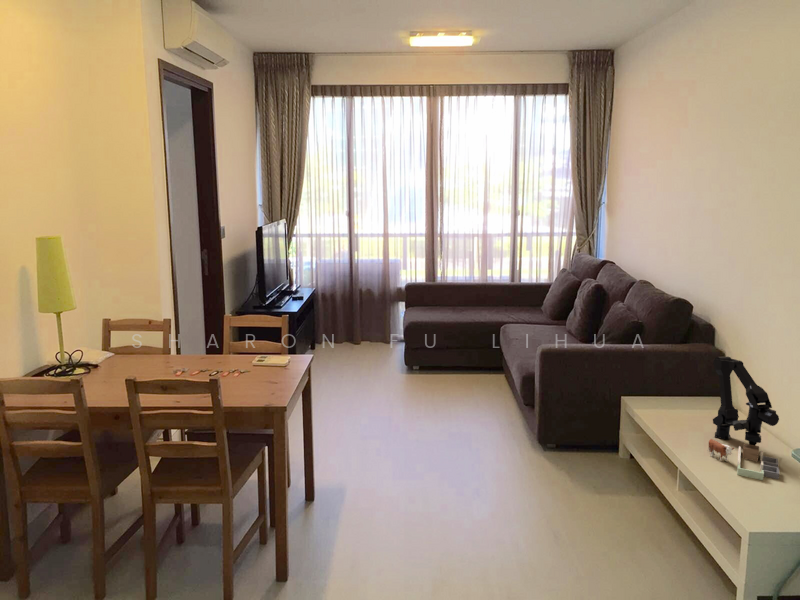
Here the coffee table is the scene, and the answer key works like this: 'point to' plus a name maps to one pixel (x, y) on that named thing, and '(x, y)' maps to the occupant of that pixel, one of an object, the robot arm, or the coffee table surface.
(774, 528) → the coffee table surface
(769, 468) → the trap pen
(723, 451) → the bull figurine
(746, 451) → the walnut block
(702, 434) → the coffee table surface
